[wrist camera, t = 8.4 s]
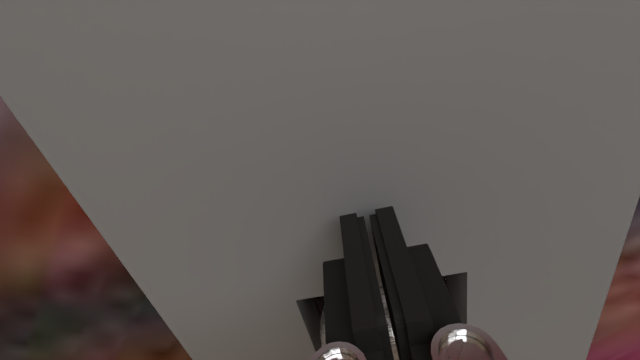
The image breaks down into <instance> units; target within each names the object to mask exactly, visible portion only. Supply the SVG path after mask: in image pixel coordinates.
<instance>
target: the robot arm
mask: <svg viewBox="0 0 640 360" xmlns="http://www.w3.org/2000/svg"><path fill="white" fill-rule="evenodd" d="M375 213H376V214H372V215H369V217H370V222H371V228H372V233H373V239H374V244H375V250H376V255H377V260H378V266H379V271H380V277H381V282H382V286H383V291H384V295H385V299H386V304H387V308H388V313H389V317H390V321H391V326H392V330H393V334H394V339H395V343H396V348H397V352H398V356H399V360H508V359H507V358H506V356H505V355H504V353H503V352H502V350H501V349H500V347H499V346H498V344H497V343H496V342H495V341H494V340H493V339H492V337H491V336H490V335H489V334H487V333H486V332H484V331H483V330H481V329H480V328H477V327H475V326H472V325H470V324H463V323H462V321H461V319H460V316H459V314H458V312H457V310H456V307H455V305H454V303H453V300H452V298H451V296H450V293H449V291H448V289H447V286H446V284H445V282H444V280H443V277H442V275H441V273H440V270H439V268H438V266H437V263H436V261H435V259H434V256H433V254H432V252H431V250H430V248H429V246H428V244H427V243H426V244H421V245H415V246H409V247H407V245H406V243H405V240H404V237H403V234H402V231H401V228H400V226H399V223H398V220H397V217H396V214H395V211H394V208H393V206H389V207H384V208H379V209H375ZM339 218H340V227H341V235H342V244H343V253H344V258H342V259H336V260H330V261H325V262H323V288H324V314H325V341H326V345H325V346H322V347H321V348H320V349H319V350H318V351H316V352H315V353H314V355H313V356H312V358H311V359H310V360H394V358H393V352H392V347H391V342H390V336H389V331H388V326H387V321H386V316H385V311H384V307H383V302H382V298H381V293H380V288H379V284H378V279H377V274H376V270H375V265H374V261H373V256H372V251H371V247H370V242H369V238H368V233H367V228H366V224H365V219H364V216H361V217H357V214H356V213H352V214H347V215H342V216H339Z"/></svg>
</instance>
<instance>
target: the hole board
mask: <svg viewBox="0 0 640 360" xmlns="http://www.w3.org/2000/svg"><path fill="white" fill-rule="evenodd" d="M0 96H1V98H2V99H3V100H4V102H5V103H6V104H7V106H8V107H9V109H10V110H11V111H12V113H13V114H14V115H15V117H16V118H17V120H18V121H19V122H20V124H21V125H22V126H23V128H24V129H25V131H26V132H27V133H28V135H29V136H30V137H31V139H32V140H33V141H34V143H35V144H36V146H37V147H38V148H39V150H40V151H41V152H42V154H43V155H44V157H45V158H46V159H47V161H48V162H49V163H50V165H51V166H52V168H53V169H54V170H55V172H56V173H57V174H58V176H59V177H60V179H61V180H62V181H63V183H64V184H65V185H66V187H67V188H68V190H69V191H70V192H71V194H72V195H73V196H74V198H75V199H76V200H77V202H78V203H79V205H80V206H81V207H82V209H83V210H84V211H85V213H86V214H87V216H88V217H89V218H90V220H91V221H92V222H93V224H94V225H95V227H96V228H97V229H98V231H99V232H100V233H101V235H102V236H103V238H104V239H105V240H106V242H107V243H108V244H109V246H110V247H111V249H112V250H113V251H114V253H115V254H116V255H117V257H118V258H119V259H120V261H121V262H122V264H123V265H124V266H125V268H126V269H127V270H128V272H129V273H130V275H131V276H132V277H133V279H134V280H135V281H136V283H137V284H138V286H139V287H140V288H141V290H142V291H143V292H144V294H145V295H146V297H147V298H148V299H149V301H150V302H151V303H152V305H153V306H154V307H155V309H156V310H157V312H158V313H159V314H160V316H161V317H162V318H163V320H164V321H165V323H166V324H167V325H168V327H169V328H170V329H171V331H172V332H173V334H174V335H175V336H176V338H177V339H178V340H179V342H180V343H181V345H182V346H183V347H184V349H185V350H186V351H187V353H188V354H189V356H190V357H191V358H192V360H310V359H311V358H312V356H313V355H314V353H315V352H316V351H318V350H319V349H320V348H321V347H322V345H321V339H320V316H319V313H318V310H317V307H316V305H315V302H314V299H313V298H314V297H320V296H324V288H323V262H325V261H330V260H336V259H342V258H344V253H343V244H342V235H341V227H340V218H339V216H342V215H347V214H352V213H356V214H357V217H361V216H364V219H365V224H366V228H367V233H368V238H369V242H370V247H371V251H372V256H373V261H374V265H375V270H376V274H377V279H378V284H379V287H380V286H382V282H381V277H380V271H379V266H378V260H377V255H376V250H375V244H374V239H373V233H372V228H371V222H370V217H369V215H372V214H376V213H375V209H379V208H384V207H389V206H393V208H394V211H395V214H396V217H397V220H398V223H399V226H400V228H401V231H402V234H403V237H404V240H405V243H406V245H407V247H409V246H415V245H421V244H426V243H427V244H428V246H429V248H430V250H431V252H432V254H433V256H434V259H435V261H436V263H437V266H438V268H439V270H440V273H441V275H442V276H446V286H447V289H448V291H449V293H450V296H451V298H452V300H453V303H454V305H455V307H456V310H457V312H458V314H459V316H460V319H461V321H462V323H463V324H470V325H472V326H475V327H477V328H480V329H481V330H483V331H484V332H486V333H487V334H489V335H490V336H491V337H492V339H493V340H494V341H495V342H496V343H497V344H498V346H499V347H500V349H501V350H502V352H503V353H504V355H505V356H506V358H507V359H508V360H586V357H587V354H588V351H589V348H590V345H591V342H592V339H593V336H594V333H595V330H596V327H597V324H598V321H599V318H600V315H601V312H602V309H603V306H604V303H605V300H606V297H607V294H608V290H609V287H610V284H611V281H612V278H613V275H614V272H615V269H616V266H617V263H618V260H619V257H620V254H621V251H622V248H623V245H624V242H625V239H626V236H627V233H628V230H629V227H630V224H631V221H632V218H633V215H634V211H635V208H636V205H637V202H638V199H639V196H640V0H0Z"/></svg>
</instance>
